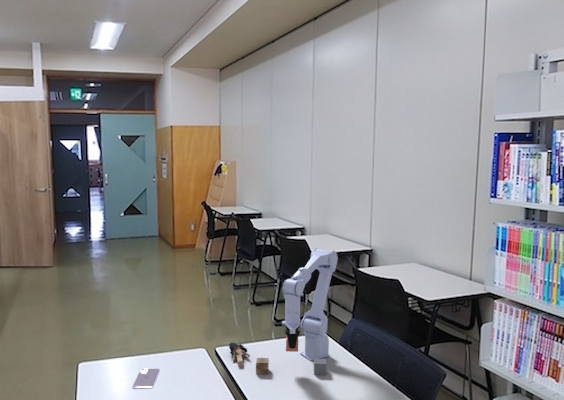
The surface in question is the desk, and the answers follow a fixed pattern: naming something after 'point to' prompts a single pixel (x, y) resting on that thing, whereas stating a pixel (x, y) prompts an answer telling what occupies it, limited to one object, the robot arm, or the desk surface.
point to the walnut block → (262, 365)
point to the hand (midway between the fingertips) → (292, 345)
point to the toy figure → (238, 353)
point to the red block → (291, 348)
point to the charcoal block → (319, 366)
